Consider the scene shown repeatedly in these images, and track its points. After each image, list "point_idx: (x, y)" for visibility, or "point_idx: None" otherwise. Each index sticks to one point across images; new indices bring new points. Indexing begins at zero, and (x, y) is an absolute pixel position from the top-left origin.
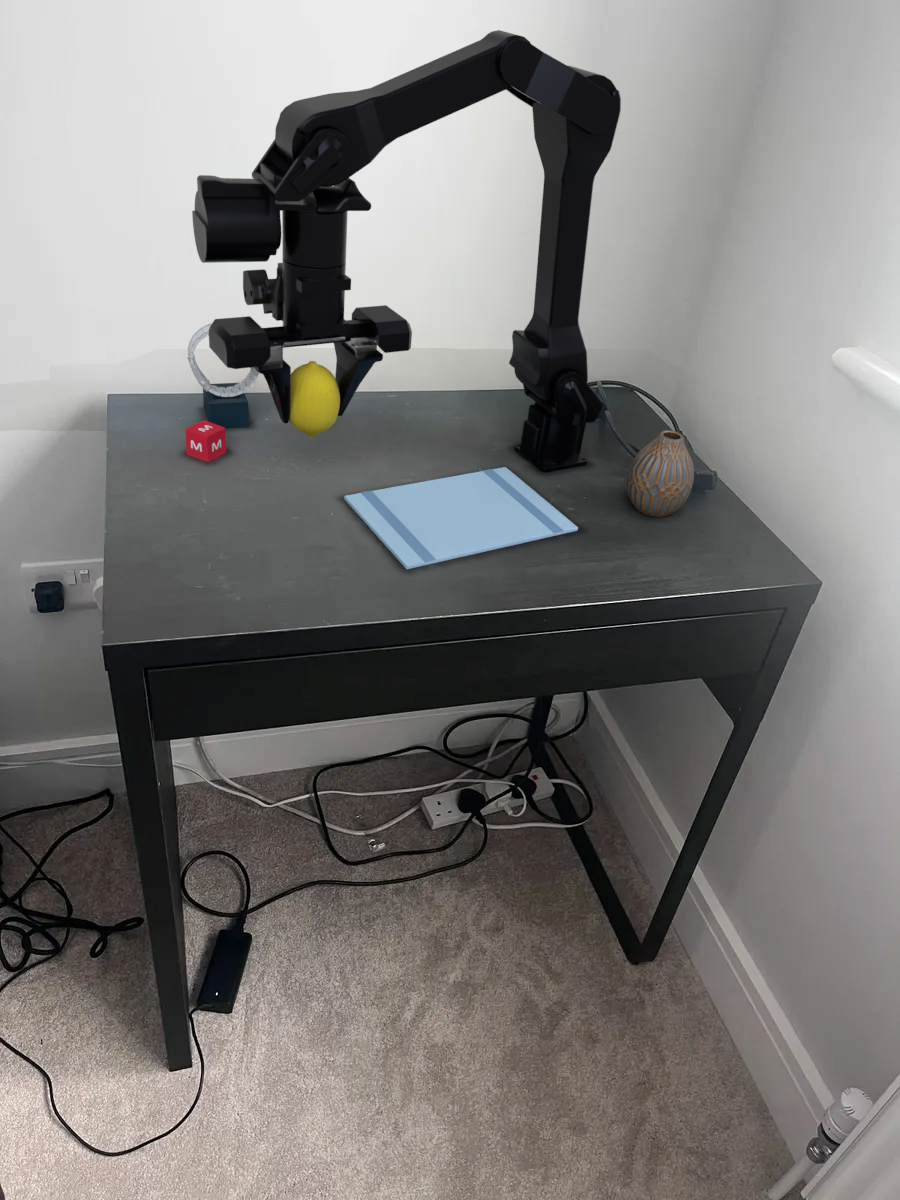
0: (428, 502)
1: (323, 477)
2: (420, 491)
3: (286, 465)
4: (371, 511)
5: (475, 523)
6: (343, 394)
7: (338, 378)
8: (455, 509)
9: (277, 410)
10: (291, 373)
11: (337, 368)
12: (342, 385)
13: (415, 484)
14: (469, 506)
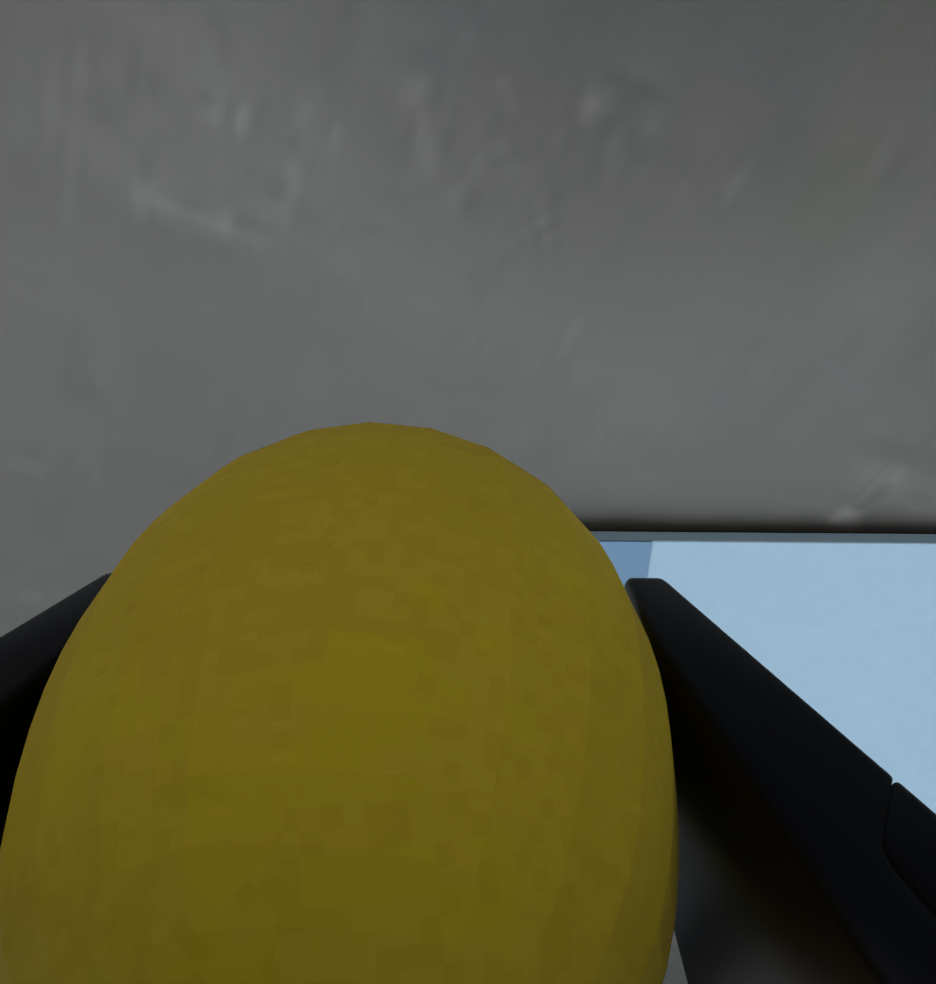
0: (807, 679)
1: (518, 315)
2: (845, 605)
3: (370, 97)
4: None
5: None
6: None
7: (754, 894)
8: (860, 739)
9: (41, 616)
10: (4, 972)
11: (842, 967)
12: (709, 937)
13: (872, 554)
14: (925, 736)
